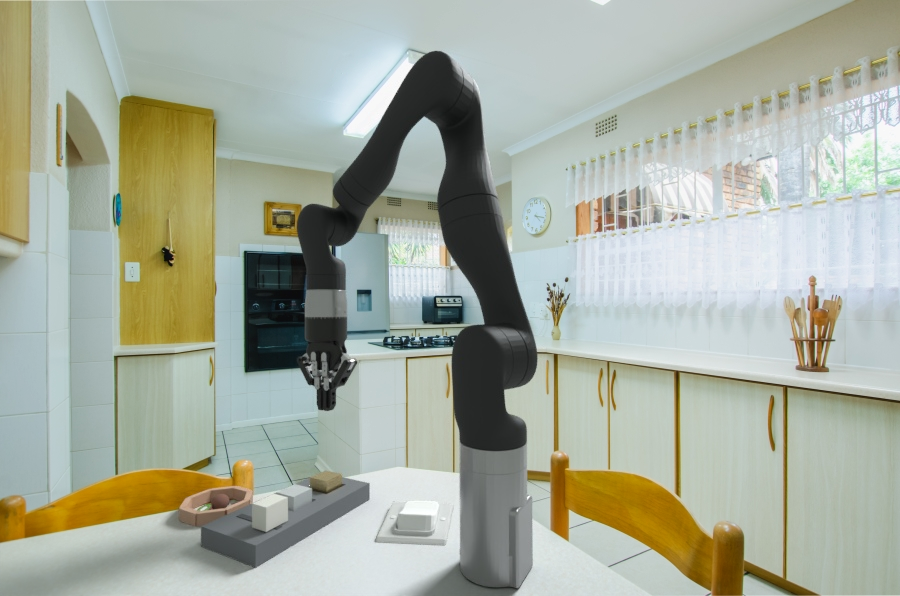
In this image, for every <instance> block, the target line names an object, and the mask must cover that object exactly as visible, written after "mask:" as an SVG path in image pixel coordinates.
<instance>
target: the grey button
mask: <svg viewBox="0 0 900 596" xmlns="http://www.w3.org/2000/svg"><path fill="white" fill-rule="evenodd" d="M275 493H276V494H277V495H281V496H285V497H288V510H291V511H295V510H297V509H299V508H301V507H303V506H305V505H307V504H309V503H311V502H312V488H309V487H305V486H301V485H297V484H296V483H295V484H292V485H290V486H288V487H286V488H283V489H281V490H279V491H276V492H275Z"/></svg>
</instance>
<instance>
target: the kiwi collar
mask: <svg viewBox="0 0 900 596" xmlns="http://www.w3.org/2000/svg"><path fill="white" fill-rule="evenodd" d="M219 494H225V495H227V496H228V497H229V500H237V501H238V502H235V503H234V504H231V505H228V506H227V507H226V508H222V509H214V510H213V509H212V510H206V511H198V510H197V509H195V508H199V507H202V506H203V505H206V504H209V503H211V501H212V499H213V498H214V497H215V496H216V495H219ZM252 503H254V491H253V490H252V489H251V488H250V489H249V488H246V487H243V486H238V485H232V486H231V485H230V486H222V487H221V486H220V487H213V488H208V489H205V490H203V491H200V492H197V493H195V494H194V493H193V494H192V495H190V496H187V497H185V498H184V499H183V501H182V503H181V504H180V506H179V507H178V521H179V522H182V523H184V524H188V525H190V526H192V527H201V526H203V525H205V524H207V523H209V522H212V521H214V520H216V519H218V518H220V517H223V516H225V515H227V514H229V513H232V512H234V511H236V510H238V509H241V508H243V507H245V506H247V505H249V504H252Z"/></svg>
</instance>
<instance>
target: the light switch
mask: <svg viewBox="0 0 900 596" xmlns="http://www.w3.org/2000/svg"><path fill="white" fill-rule="evenodd" d="M453 513H454V503H447V502H438V501H434V500H406V501H392V503H391V505H390V508H389V509H388V512H387V514H386V515H385V518H384V520H383V523H382V524H381V527H380V529H379V532H378V534H377V536H376V538H375V543H378V544H380V543H381V544H399V545H401V544H403V545H421V546H422V545H423V546H447V543H448V539H449V533H450V529H451V528H450V527H451V523H452V517H453Z"/></svg>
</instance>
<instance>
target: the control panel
mask: <svg viewBox="0 0 900 596" xmlns="http://www.w3.org/2000/svg"><path fill="white" fill-rule="evenodd" d="M295 484H297V485H301V486H305V487H309V488H310V486H309V485H310V477H308V478H306V479H303V480H301V481H299V482H296V483H295ZM370 487H371V486H370V482H365V481H361V480H357V479H354V478H353V479H352V478H348V477H345V476H344V477H343V476H342V487H340V488H338V489H336V490H334V491H332V492H330V493H328V494H323V493H319V492H315V491H312V502H311V503H309V504H307V505H305V506H303V507H301V508H299V509H297V510H295V511H291V510H288V521H286V522H284V523H282V524H280V525H279V526H277V527H275V528H273V529H271V530H269V531H267V532H265V531H262V530H258V529H255V528H252V504H249V505H247V506H245V507H243V508H241V509H238V510H236V511H234V512H232V513H229V514H227V515H225V516H223V517H220V518H218V519H216V520H214V521H212V522H209V523H207V524H205V525H203V526H200V547H202V548H205V549H206V550H209V551H212V552H214V553H217V554H219V555H221V556H225V557H227V558H230V559H232V560H235V561H237V562H239V563H242V564H246V565H248V566H250V567H252V568H257V567H259V566H261V565H263V564H264V563H266V562H268V561H269V560H271V559H273V558H274V557H276V556H278V555H280V554H282V552H284V551H286V550H287V549H289V548H291V547H293V546H295V545H297V543H299V542H301V541H302V540H304V539H306V538H308V537H310V536H311V535H313V534H315V533H316V532H318V531H319V530H321V529H323V528H324V527H326V526H329V524H331V523H333V522H334V521H336V520H338V519H339V518H341V517H343V516H344V515H346V514H348V513H349V512H351V511H353V510H354V509H356V508H358V507H360V506H361V505H363V504H364V503H366V502H369V500H370V499H371V498H370V494H371V493H370V489H371V488H370ZM273 494H276V492H274V493H273ZM268 496H269V495H267V496H265V497H264V498H266V497H268ZM259 500H260V499H259ZM259 500H256V501H253V503H255V502H257V501H259Z"/></svg>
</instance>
